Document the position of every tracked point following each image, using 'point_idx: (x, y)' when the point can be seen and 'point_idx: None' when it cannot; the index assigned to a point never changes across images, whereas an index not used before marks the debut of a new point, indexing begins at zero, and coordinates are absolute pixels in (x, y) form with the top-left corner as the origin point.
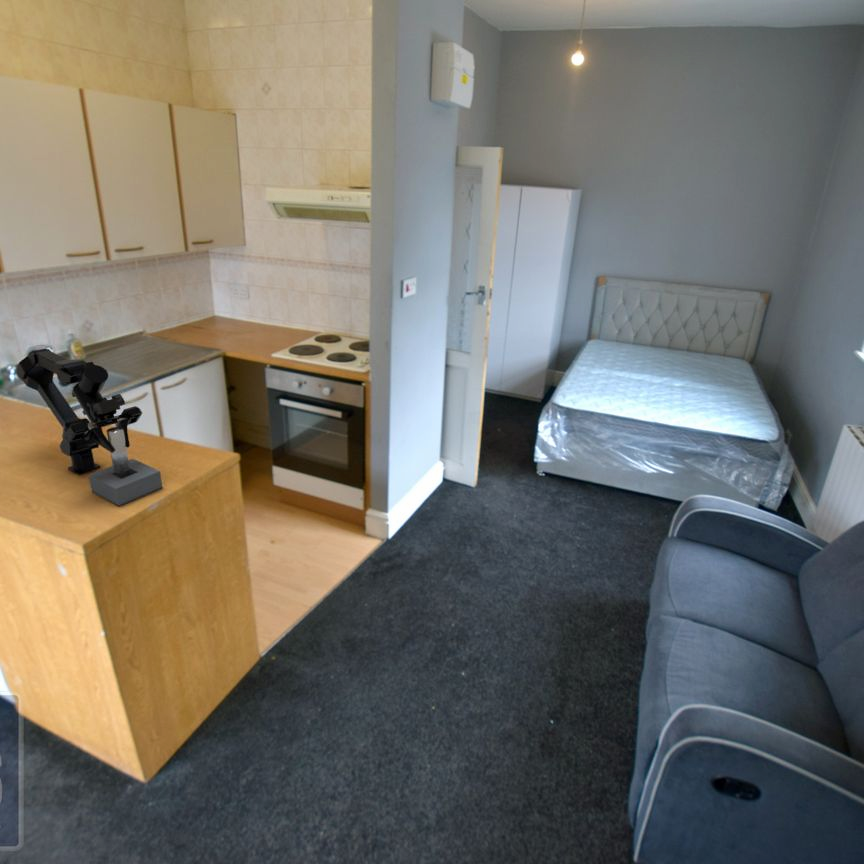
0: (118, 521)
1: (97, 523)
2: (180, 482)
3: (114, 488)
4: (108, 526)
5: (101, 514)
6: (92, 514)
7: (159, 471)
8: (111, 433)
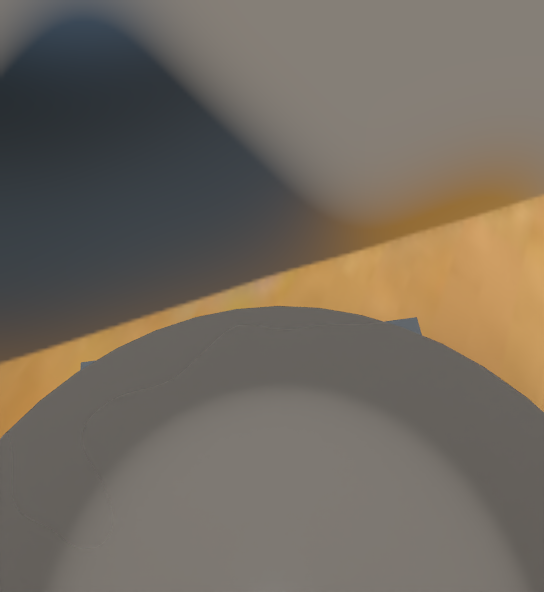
0: (430, 243)
1: (513, 285)
2: (26, 395)
3: (419, 333)
4: (477, 233)
5: (479, 351)
6: (518, 382)
7: (85, 363)
8: (529, 423)
